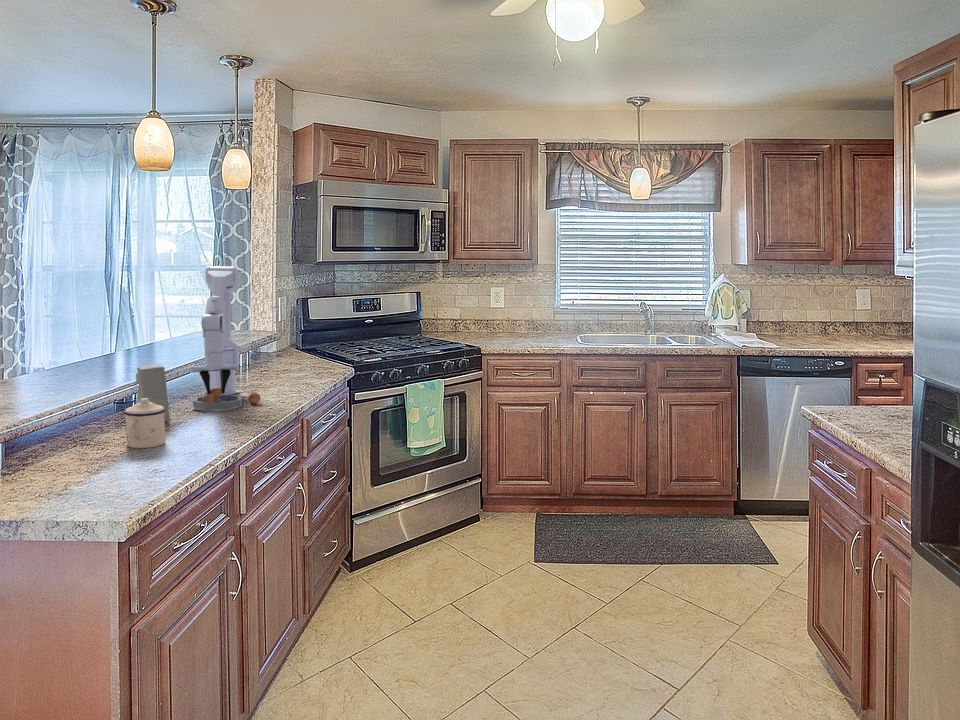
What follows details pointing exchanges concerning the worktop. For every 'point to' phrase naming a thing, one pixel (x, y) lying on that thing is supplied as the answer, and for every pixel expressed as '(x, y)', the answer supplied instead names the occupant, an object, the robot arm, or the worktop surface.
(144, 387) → the skincare box
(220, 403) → the groove tray
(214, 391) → the bead
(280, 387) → the worktop surface
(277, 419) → the worktop surface
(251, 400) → the bead
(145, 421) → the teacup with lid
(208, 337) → the robot arm
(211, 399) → the bead seated
